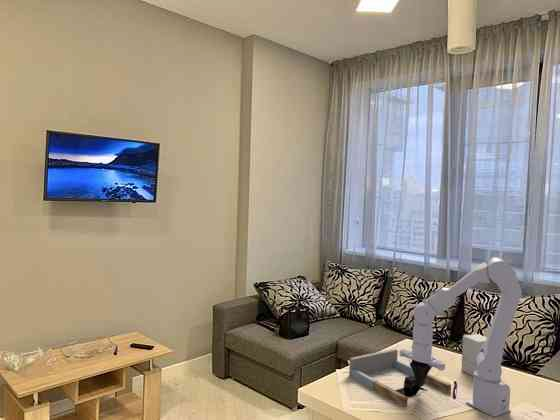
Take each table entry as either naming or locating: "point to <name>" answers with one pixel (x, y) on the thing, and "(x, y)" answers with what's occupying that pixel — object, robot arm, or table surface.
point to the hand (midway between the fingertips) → (420, 385)
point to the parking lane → (385, 361)
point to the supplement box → (471, 352)
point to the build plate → (411, 387)
